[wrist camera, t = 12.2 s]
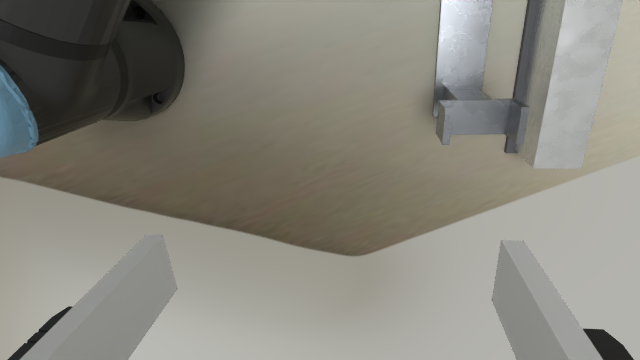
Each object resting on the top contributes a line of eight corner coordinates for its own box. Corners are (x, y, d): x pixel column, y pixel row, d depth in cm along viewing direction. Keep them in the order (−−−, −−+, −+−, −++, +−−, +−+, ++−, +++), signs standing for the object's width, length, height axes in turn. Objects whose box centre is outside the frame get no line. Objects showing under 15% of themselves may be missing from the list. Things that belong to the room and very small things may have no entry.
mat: (504, 151, 44) (505, 153, 44) (548, -132, 34) (551, -135, 33) (562, 151, 44) (564, 152, 43) (627, -141, 33) (631, -143, 32)
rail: (513, 149, 44) (533, 168, 38) (559, -129, 33) (595, -157, 28) (554, 148, 43) (581, 168, 38) (615, -134, 33) (663, -164, 27)
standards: (424, 115, 44) (441, 148, 33) (437, -89, 36) (465, -134, 25) (485, 114, 43) (523, 148, 32) (512, -96, 35) (575, -145, 24)
